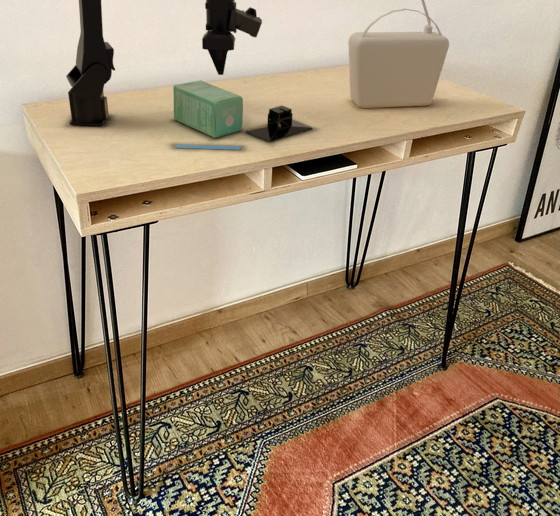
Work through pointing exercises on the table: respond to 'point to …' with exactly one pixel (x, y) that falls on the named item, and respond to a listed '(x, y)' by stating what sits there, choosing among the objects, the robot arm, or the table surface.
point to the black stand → (279, 126)
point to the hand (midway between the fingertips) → (220, 74)
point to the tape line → (209, 147)
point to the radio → (396, 66)
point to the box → (208, 108)
